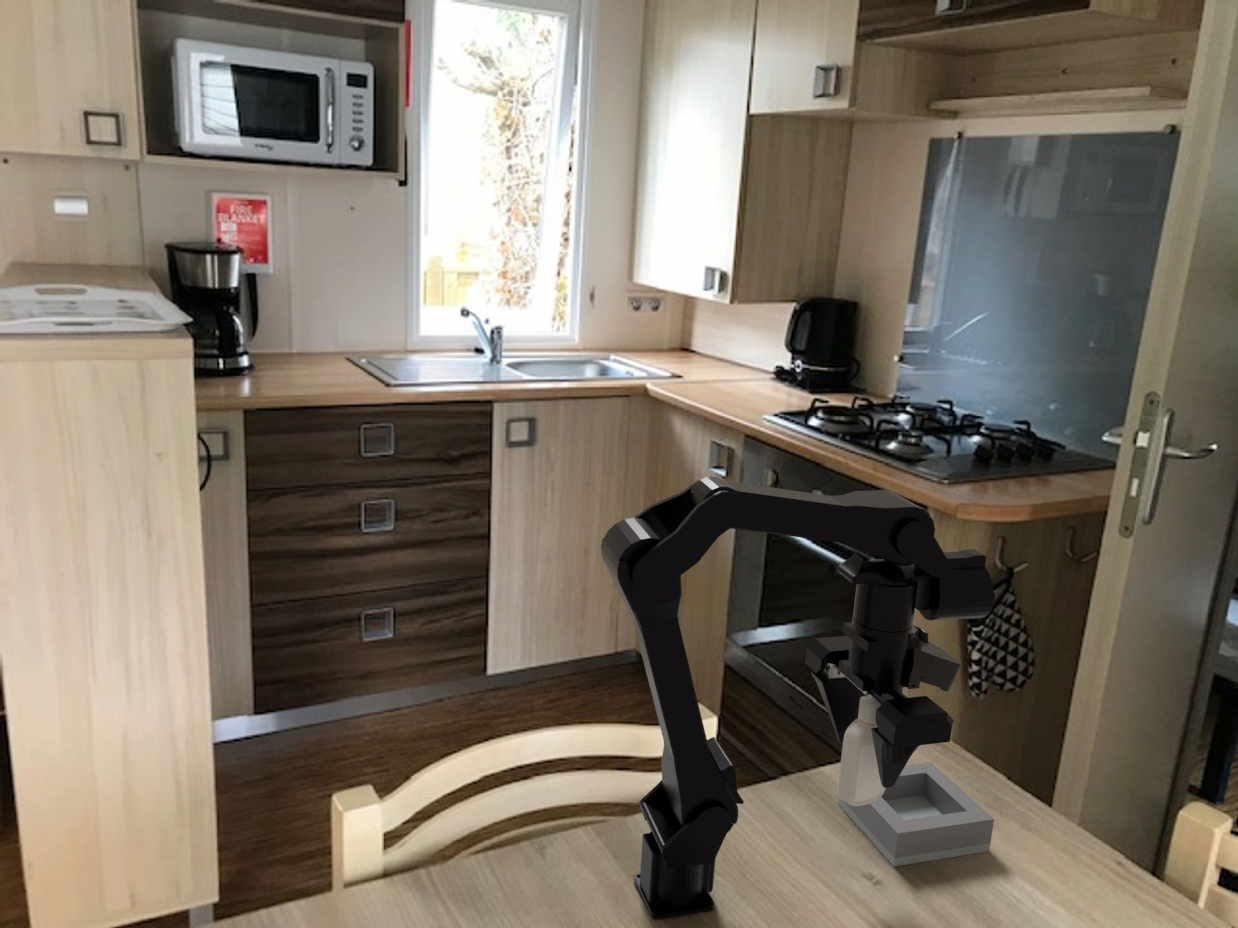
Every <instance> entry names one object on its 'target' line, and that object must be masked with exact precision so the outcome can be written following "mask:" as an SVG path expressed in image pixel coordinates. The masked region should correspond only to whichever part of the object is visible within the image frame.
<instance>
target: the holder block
mask: <svg viewBox="0 0 1238 928" xmlns="http://www.w3.org/2000/svg"><path fill="white" fill-rule="evenodd" d="M837 804H838V805H839V807H840V808H841V809H842V810H843V811H844V812H845V814H846V815H847V816H848V817H849V818H850V819H851V820H852V821H853V823H854V824H855V825H856V826H857V827H858V828H859V829H860V831H861V832H862V833H863V834H864V836H866V837H867V839H868V840H869V841H870V842H871V843H872V844H873V845H874V847H875V848H876V849H877V850H878V852H880V853H881V855H883V857H884V858H885V859H886V860H887V862H889V863H890V865H891V866H892V867H898V866H905V865H912V864H919V863H924V862H930V861H938V860H943V859H944V860H945V859H951V858H956V857H962V856H969V855H974V854H981V853H988V852H990V849H991V841H992V835H993V830H994V825H995V824H994V822H995V818H993V817H992V815H991V814H989V813H988V812H987V811H986V810H985V809H984V808H983V807H981V805H979V803H977V802H976V801H975V800H974V799H973V798H971V797H970V795H969V794H967V793H966V792H965V791H964V790H963V789H961V787H960V786H958V785H957V784H956V783H955V781H954V782H953V780H951V778H949V777H948V776H947V775H946V774H945V773H944V772H943V771H941V769H939V768H938V767H937V766H936V765H935V764H934V763H933V762H931V761H928V762H921V763H912V764H906V765H905V767H904V769H903V770H902V772H901V774H900V776H899V777H898V779H897V781H896V782H895V784H894V786H892V787H888V788H886V789H885V792H884V794H883V795H882V796H881V797H880V798H879V799H878V800H876V801H875V802H873V803H870V804H867V805H862V806H852V805H849V804H848V803H846V802H844V801H843V800H841V799H840V798H838V802H837Z"/></svg>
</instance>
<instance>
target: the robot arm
mask: <svg viewBox="0 0 1238 928" xmlns="http://www.w3.org/2000/svg"><path fill="white" fill-rule="evenodd" d="M730 529H732V530H739V531H748V532H754V533H755V532H756V533H763V534H771V535H777V536H778V535H779V536H787V537H793V538H794V537H795V538H801V539H809V540H817V541H827V542H833V543H834V542H835V543H838V544H842V545H845V546H848V547H851V548H853V549H855V550H858V551H856V552H854V553H853V555H852V556H851V557H850V558H848V559H847V560H845V561H843V562H841V563H840V564H839V565H838V566H837V567H836V570H837V571H836V572H837V573H839V574H840V575H841V576H843V577H844V578H845V579H847V581H848V582H850V583H852V585H856V587H855V595H854V596H855V597H854V605H853V613H852V619H851V621H850V622H847V621H846V622H843V623H842V633H843V634H844V635H841V636H830V637H829V636H827V637H818V638H817V637H815V638H814V639H813V640H812V641H811V642H810V643H809V644H808V645H807V646H806V649H805V650H806V651H805V659H804V660H805V661H804V664H806V666H808V667H809V668H810V669H811V670H812V671H811V676H812V678H813V679H814V680H815V683H816V684H817V687H818V691H819V693H820V695H821V697H822V700H823V702H824V705H825V708H826V709H827V710H826V711H827V712H828V716H829V718H830V721H831V723H832V726H833V729H834V732H835V735H836V737H837V740H838V742H839V743H840V744H843V740H844V735H845V732H846V730H847V728H848V727H849V725H850V724H851V723H852V722H853V721H854V720H856V718H857V717H856V716H857V712H858V711H857V710H858V708H859V706H858V705H859V704H860V698H861V697H860V696H861V695H862V694H861V693H863V694H864V695H868V694H870V695H871V696H872V697H873V698H875V699H876V700H877V701H878V702H879V703H880V704H881V706H880V707H879V708H878V709H877V710H876V717H875V721H876V724H877V727H876V728H871V731H872V737H873V742H874V748H875V753H876V759H877V765H878V771H879V776H880V780H881V784H882V786H883V787H884V788H888V787H892V786H894V784H895V782H896V781H897V779H898V777H899V776H900V774H901V772H902V770H903V769H904V767H905V765H908V763H909V760H910V759H911V757H912V755H913V754H914V753H915V751H916V750H917V749H918V748H919V747H920V746H925V745H932V744H933V745H934V744H942V743H950V742H951V740H952V737H953V732H954V731H953V729H954V724H955V723H954V722H955V719H953V717H952V716H951V715H950V714H949V713H948V712H947V711H946V710H944V708H942V707H941V706H940V705H938V704H937V702H935V701H934V700H932V699H931V698H930V697H929V696H927V695H921V696H912V697H911V696H910V697H908V696H906V695H905V694H904V693H902V689H903V688H907V689H908V690H914V689H920V686H921V683H923V684H927V685H931V686H933V687H936V688H939V689H940V690H941V691H943V692H947V693H948V692H950V691H951V687H952V686H953V684H954V681H955V680H956V677H957V675H958V674H959V671H960V669H961V666H962V662H960V661H959V659H956V657H954V656H952V655H951V654H950V653H948V652H946V650H943V648H941V647H939V646H936V645H935V644H934V643H933V642H930V641H929V633H928V632H927V631H925V629H922V628H921V627H920V626H917V625H914V624H913V623H914V618H915V617H914V616H915V610H917V611H918V612H919V613H920V615H921V616H922V617H923V618H924V619H926V620H928V621H943V620H944V621H945V620H961V619H963V620H964V619H981V618H985V617H987V616H988V615H989V614H990V613H991V611H992V609H993V607H994V603H995V600H996V598H995V597H996V593H995V591H994V586H993V581H992V578H991V575H990V573H989V570H988V568H986V562H987V556H986V555H985V554H983V553H982V552H980V551H978V550H976V549H971V548H970V549H962V550H958V551H943V549H942V547H941V546H940V544H939V543H938V540H937V539H936V537H935V532H936V528H935V522H934V519H933V518H932V516H931V513H930V512H929V511H927V510H926V509H925V508H922V507H921V506H919V505H917V504H915V503H914V502H912V501H910V500H908V499H906V498H904V497H902V496H901V495H899V494H897V493H896V492H893V491H890V490H887V489H886V490H885V489H877V490H855V491H852V492H848V493H845V494H840V495H839V494H838V495H826V494H821V493H820V494H819V493H813V492H806V491H798V490H792V489H783V488H780V487H779V488H778V487H777V488H776V487H770V486H763V485H755V484H749V483H743V482H736V481H735V482H734V481H729V480H724V479H721V478H719V477H716V476H705V477H702V478H700V479H698V480H696V481H695V482H693V483H691V485H689V486H688V487H686V488H685V489H683V490H682V491H681V492H678V493H676V494H674V495H671V496H669V497H667V498H665V499H662V500H660V501H658V502H655V503H653V504H651V505H650V506H648V507H646V508H645V509H644V510H642V511H641V512H640V513H638V514H636V515H635V516H634V517H630V518H624V519H622V520H620V521H618V522H616V523H614V524H613V525H612V526H611V527H610V528H609V529H608V530H607V532H606V533H605V535H604V537H603V538H602V539H601V542H600V543H601V544H600V553H601V557H602V560H603V562H604V565H605V567H606V569H607V571H608V572H609V575H610V577H611V579H612V582H613V583H614V586H615V587H616V589H617V592H618V593H619V596H620V597H621V599H622V602H623V603H624V605H625V607H626V609H627V611H628V613H629V615H630V617H631V619H632V622H633V626H634V629H635V634H636V637H637V642H638V645H639V650H640V653H641V657H642V661H643V665H644V669H645V673H646V677H647V681H648V684H649V688H650V692H651V695H652V696H651V697H652V699H653V701H652V702H653V704H654V707H655V712H656V715H657V716H656V717H657V719H658V723H659V727H660V732H661V736H662V740H663V750H662V756H661V761H660V763H661V764H660V766H661V780H660V781H659V782H658V783H657V784H656V785H655V786H654V787H653V788H652V789H651V790H649V791H648V793H646V794H645V795H644V796H643V797H642V798H641V799H640V800H639V802H638V803H639V806H640V810H641V813H642V816H643V819H644V820H645V821H646V823H647V824H648V827H649V830H650V832H647V833H643V834H642V843H641V844H642V845H641V859H640V872H636V873H634V875H633V880H634V882H635V885H636V886H637V889H638V891H639V893H640V895H641V897H642V899H643V901H644V903H645V906H646V907H647V910H648V912H649V914H650V915H651V917H652V918H653V919H655V920H656V919H657V920H658V919H664V918H665V919H666V918H671V917H677V916H678V917H679V916H682V915H684V916H685V915H688V914H695V913H702V912H707V911H712V910H715V907H716V906H715V901H714V899H713V897H712V896H711V895H710V893H711V892H713V890H714V882H715V881H714V880H715V870H716V857H717V855H718V853H719V851H720V849H721V847H722V844H723V842H724V840H725V839H726V836H727V834H728V833H729V832H730V831H731V830H732V828H733V827H734V825H736V824H737V823H738V821H739V816H740V815H739V806H738V804H739V805H742V804H744V800H743V797H742V796H741V794H740V793H739V792H738V788H737V775H736V769H735V766H734V764H733V763H732V761H731V760H730V758H729V756H728V755H727V753H726V752H725V751H724V749H723V747H722V745H720V743H719V741H718V740H717V738H716V737H715V736H713V737H710V738H708V739H707V734H706V730H705V725H704V722H703V717H702V714H701V709H700V705H699V701H698V697H697V693H696V689H695V685H694V680H693V677H692V672H691V668H690V664H689V659H688V657H687V652H686V648H685V644H684V643H685V642H684V640H683V635H682V631H681V627H680V622H679V614H680V610H681V609H680V608H681V602H682V597H683V596H682V595H683V593H682V592H683V591H682V575H683V574H684V573H686V572H688V571H689V570H690V569H691V568H692V567H694V566H695V565H697V564H698V563H699V562H700V561H701V560H702V558H703V557H704V556H705V555H706V554H707V552H708V551H709V550H710V548H711V547H712V546H713V545H714V543H715V542H716V541H717V539H718V538H719V537H720V536H722V535H723V534H725V533H726V532H727V531H729V530H730ZM859 551H860V552H859ZM861 552H862V553H864V554H866V555H869V556H870V557H871V556H872V557H874V558H876V559H868V557H866V556H865V555H863V554H862V553H861Z"/></svg>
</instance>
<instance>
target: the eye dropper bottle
mask: <svg viewBox="0 0 1238 928" xmlns="http://www.w3.org/2000/svg"><path fill="white" fill-rule="evenodd" d="M858 705H859V706H858V715H857V717H856V718H855V720H854V721H853V722H852V723H851V724H850V725H849V727H848V728H847V730H846V732H845V735H844V740H843V743H842V748H841V755H840V756H841V757H840V763H839V764H840V766H839V775H838V785H837V793H836V794H837V795H836V796H837V798H838V799H839V798H840V799H841V800H843V801H844V802H846V803H848V804H849V805H852V806H862V805H867V804H870V803H873V802H875V801H876V800H878V799H879V798H880V797H881V796H882V795H883V794H884V792H885V789H886V788H884V787H883V786H882V784H881V780H880V776H879V771H878V765H877V759H876V753H875V748H874V742H873V737H872V731H871V728H876V727H877V724H876V721H875V717H876V710H877V709H878V708H879V707H880V706H881V704H880V703H879V702H878V701H877V700H876V699H875V698H873V697H872V696H871V695H870V694H868V695H867V694H865V695H863V696H861V697H860V698H859V703H858Z"/></svg>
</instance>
